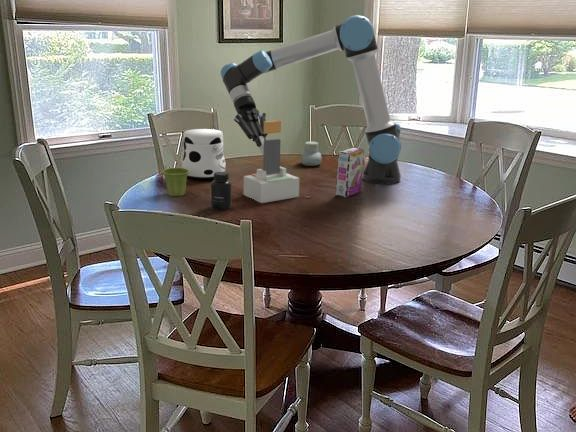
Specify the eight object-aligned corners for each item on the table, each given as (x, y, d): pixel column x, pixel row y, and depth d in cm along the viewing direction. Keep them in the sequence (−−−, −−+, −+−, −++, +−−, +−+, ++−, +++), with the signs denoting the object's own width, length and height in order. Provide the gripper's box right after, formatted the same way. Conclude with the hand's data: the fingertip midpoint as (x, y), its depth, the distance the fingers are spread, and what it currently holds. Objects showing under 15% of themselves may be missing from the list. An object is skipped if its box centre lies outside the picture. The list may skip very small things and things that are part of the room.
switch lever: (262, 175, 211) (263, 121, 205) (277, 173, 215) (278, 120, 209) (265, 176, 210) (266, 122, 204) (280, 174, 213) (281, 121, 208)
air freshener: (299, 162, 268) (300, 140, 265) (318, 162, 269) (318, 140, 266) (303, 167, 258) (303, 145, 255) (321, 167, 259) (322, 145, 256)
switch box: (243, 194, 215) (243, 167, 212) (280, 188, 224) (280, 163, 221) (261, 203, 206) (261, 175, 203) (298, 196, 214) (299, 169, 211)
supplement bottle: (215, 211, 195) (214, 176, 192) (208, 206, 201) (207, 171, 197) (234, 209, 198) (234, 174, 195) (227, 203, 204) (226, 170, 200)
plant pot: (194, 192, 216) (194, 169, 213) (179, 199, 208) (179, 175, 205) (173, 189, 220) (172, 166, 217) (157, 195, 212) (156, 171, 209)
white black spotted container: (233, 178, 237) (233, 133, 231) (193, 184, 228) (192, 137, 222) (213, 169, 251) (212, 127, 245) (175, 174, 241) (173, 130, 236)
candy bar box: (347, 198, 214) (349, 153, 209) (335, 195, 217) (337, 151, 212) (361, 191, 223) (364, 148, 218) (350, 189, 226) (352, 147, 221)
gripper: (254, 106, 227) (277, 157, 220) (224, 108, 220) (246, 160, 213) (261, 93, 222) (285, 145, 214) (230, 95, 215) (254, 148, 207)
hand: (266, 153), depth 213 cm, fingers closed
